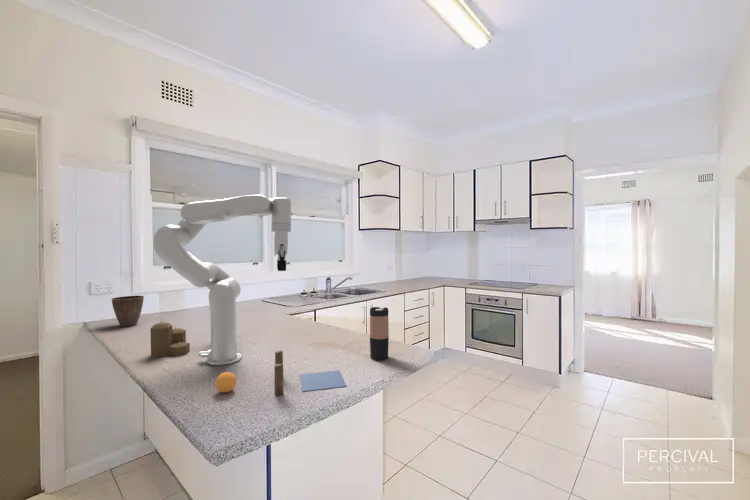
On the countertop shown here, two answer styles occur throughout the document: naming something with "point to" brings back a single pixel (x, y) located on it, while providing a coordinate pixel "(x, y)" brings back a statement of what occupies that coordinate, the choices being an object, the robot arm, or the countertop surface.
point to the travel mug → (379, 333)
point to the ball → (225, 382)
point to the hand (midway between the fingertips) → (281, 269)
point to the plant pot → (127, 309)
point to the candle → (168, 340)
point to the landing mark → (321, 380)
